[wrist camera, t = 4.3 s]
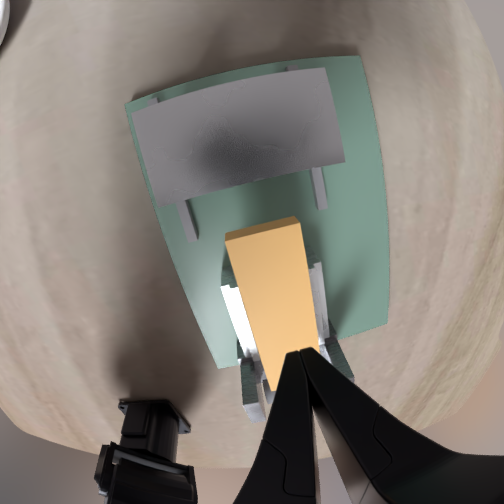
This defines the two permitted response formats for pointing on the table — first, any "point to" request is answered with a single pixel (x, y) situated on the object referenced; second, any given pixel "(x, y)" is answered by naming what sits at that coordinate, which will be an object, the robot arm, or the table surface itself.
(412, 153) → the table surface
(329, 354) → the mount
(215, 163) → the plate
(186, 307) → the table surface
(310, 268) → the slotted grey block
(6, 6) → the spoon rest
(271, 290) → the orange flat plank
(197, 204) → the board
